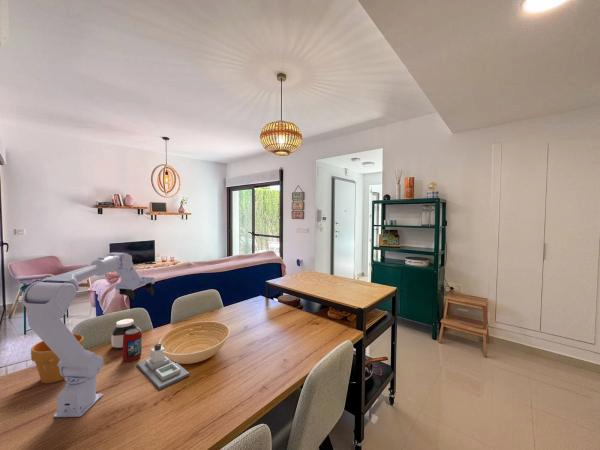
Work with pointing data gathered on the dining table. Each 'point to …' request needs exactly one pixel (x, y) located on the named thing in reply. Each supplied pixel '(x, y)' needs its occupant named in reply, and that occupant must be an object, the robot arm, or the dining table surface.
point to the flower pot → (48, 361)
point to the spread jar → (121, 332)
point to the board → (163, 372)
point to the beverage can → (132, 344)
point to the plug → (157, 354)
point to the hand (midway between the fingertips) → (143, 295)
